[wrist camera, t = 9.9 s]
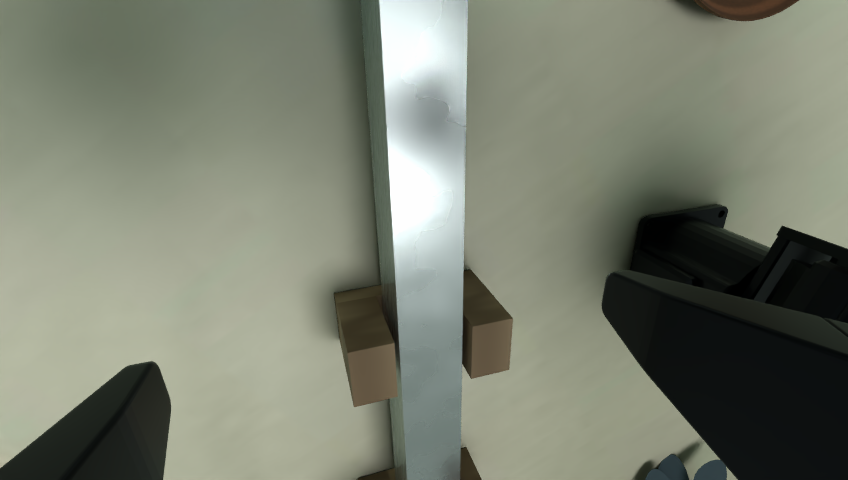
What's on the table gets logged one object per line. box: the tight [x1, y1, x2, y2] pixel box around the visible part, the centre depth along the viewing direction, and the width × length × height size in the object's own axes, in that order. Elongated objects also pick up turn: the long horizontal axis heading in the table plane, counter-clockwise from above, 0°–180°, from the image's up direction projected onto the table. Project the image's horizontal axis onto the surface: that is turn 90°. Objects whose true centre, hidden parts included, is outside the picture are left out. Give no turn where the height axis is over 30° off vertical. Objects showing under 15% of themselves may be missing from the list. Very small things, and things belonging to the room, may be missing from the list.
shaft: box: [360, 0, 468, 480], centre depth 22 cm, size 4×34×4 cm, turn 2°
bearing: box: [334, 270, 513, 407], centre depth 22 cm, size 8×3×5 cm, turn 92°
